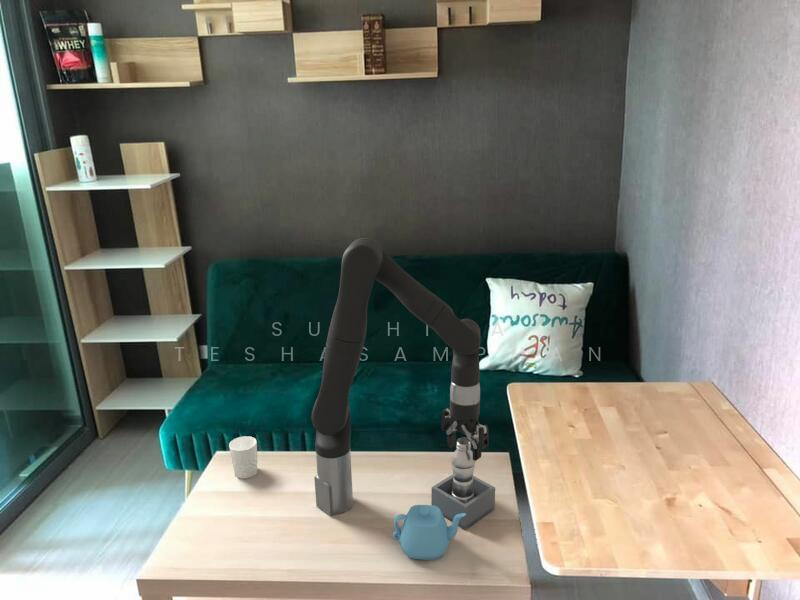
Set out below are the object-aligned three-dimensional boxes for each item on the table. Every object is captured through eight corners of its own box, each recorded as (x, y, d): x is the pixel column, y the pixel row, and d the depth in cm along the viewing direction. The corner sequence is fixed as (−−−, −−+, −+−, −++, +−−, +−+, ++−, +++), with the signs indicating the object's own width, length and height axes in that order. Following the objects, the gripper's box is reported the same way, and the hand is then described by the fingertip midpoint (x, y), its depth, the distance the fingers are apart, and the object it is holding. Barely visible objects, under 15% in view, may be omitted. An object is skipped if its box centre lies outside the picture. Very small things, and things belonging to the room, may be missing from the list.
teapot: (466, 528, 147) (389, 525, 149) (465, 566, 151) (390, 562, 152) (465, 495, 159) (394, 492, 161) (465, 531, 162) (395, 527, 164)
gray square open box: (465, 530, 163) (465, 507, 160) (431, 509, 171) (431, 487, 169) (494, 509, 170) (495, 487, 168) (461, 490, 179) (461, 469, 176)
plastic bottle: (477, 501, 172) (478, 436, 166) (471, 516, 166) (472, 449, 160) (454, 496, 174) (454, 432, 168) (447, 511, 168) (448, 445, 162)
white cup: (238, 464, 193) (235, 435, 190) (263, 465, 192) (260, 436, 189) (228, 479, 186) (224, 449, 183) (254, 481, 185) (250, 451, 182)
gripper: (434, 392, 162) (434, 447, 168) (477, 411, 152) (475, 469, 158) (454, 383, 167) (453, 437, 172) (496, 401, 157) (494, 458, 163)
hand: (463, 452), depth 165 cm, fingers open, 8 cm apart
